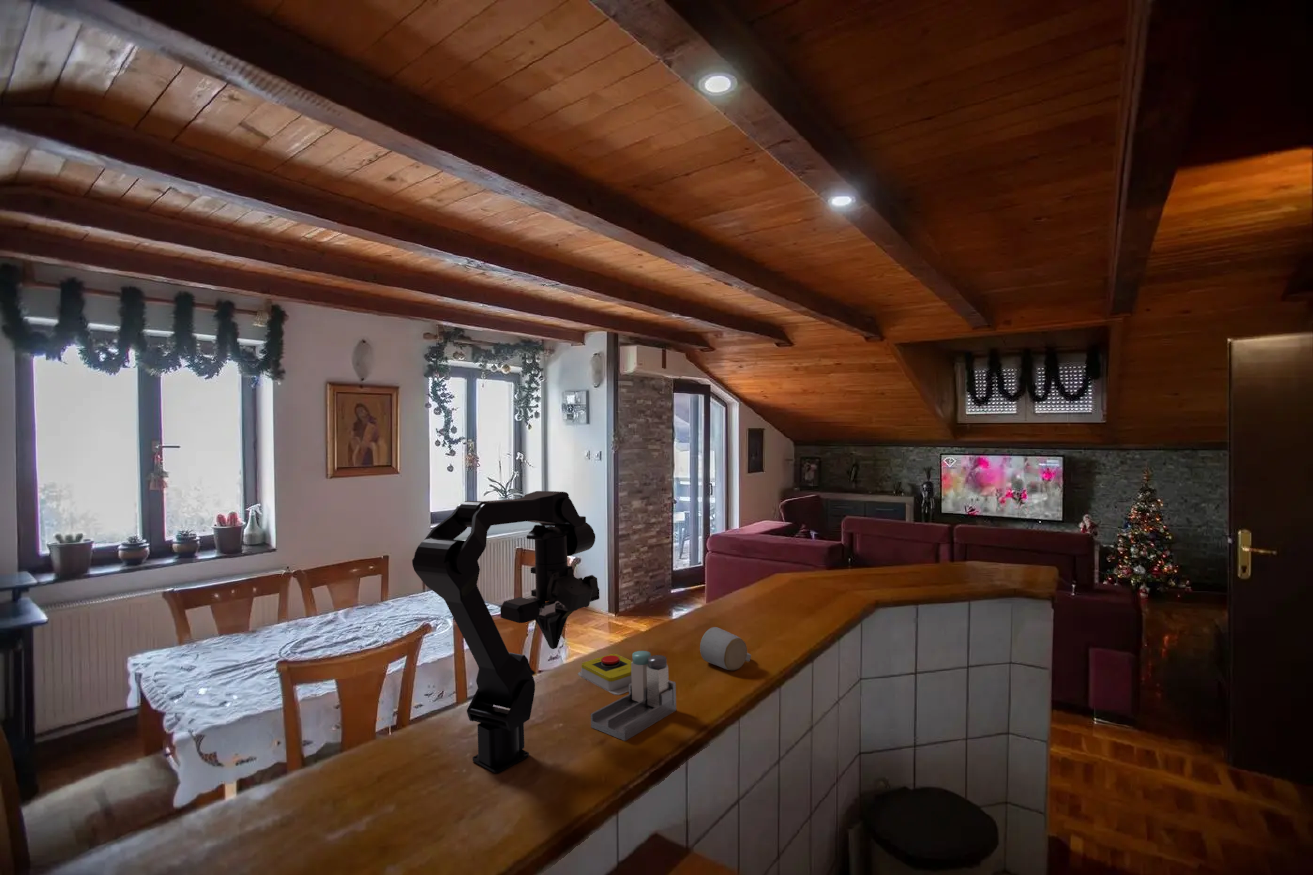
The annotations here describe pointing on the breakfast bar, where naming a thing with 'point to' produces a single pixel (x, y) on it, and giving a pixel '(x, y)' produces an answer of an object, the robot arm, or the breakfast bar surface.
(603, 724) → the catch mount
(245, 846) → the breakfast bar surface
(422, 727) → the breakfast bar surface
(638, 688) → the plunger
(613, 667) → the emergency button
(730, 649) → the ceramic mug
